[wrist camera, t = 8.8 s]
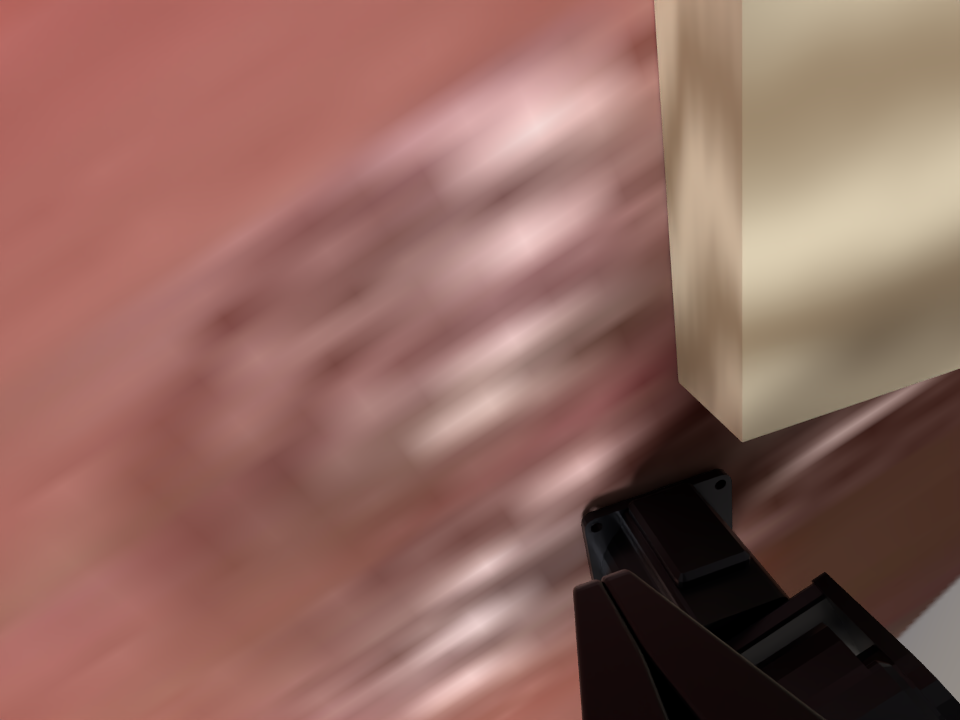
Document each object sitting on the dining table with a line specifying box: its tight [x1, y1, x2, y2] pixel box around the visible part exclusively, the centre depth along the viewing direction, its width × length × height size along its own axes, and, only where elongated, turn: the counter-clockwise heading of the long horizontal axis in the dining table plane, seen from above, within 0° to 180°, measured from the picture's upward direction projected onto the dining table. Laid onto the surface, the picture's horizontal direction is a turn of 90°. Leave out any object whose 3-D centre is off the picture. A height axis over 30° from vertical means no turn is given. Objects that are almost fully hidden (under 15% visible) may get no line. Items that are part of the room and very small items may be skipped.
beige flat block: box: [654, 0, 960, 442], centre depth 16 cm, size 20×11×4 cm, turn 13°
